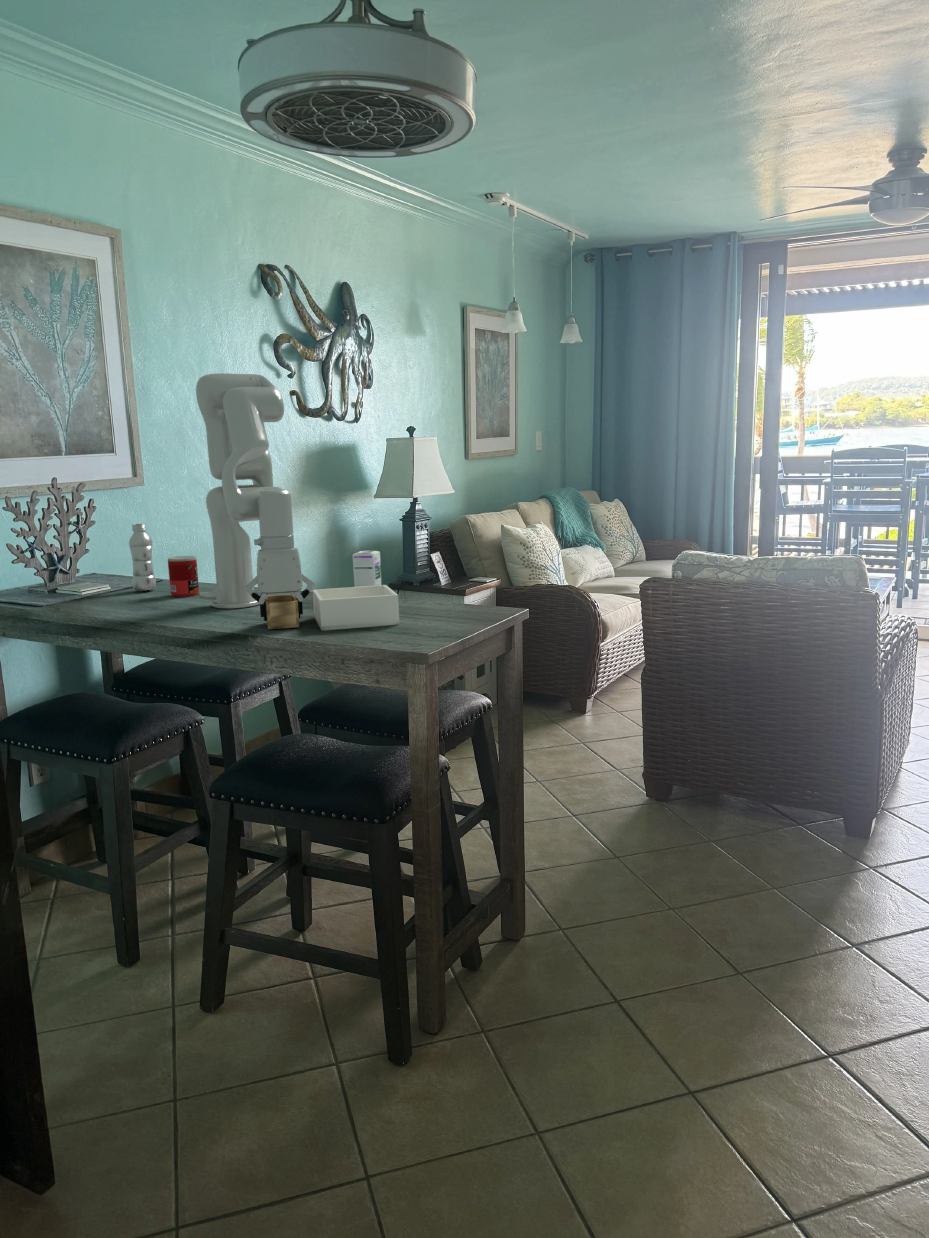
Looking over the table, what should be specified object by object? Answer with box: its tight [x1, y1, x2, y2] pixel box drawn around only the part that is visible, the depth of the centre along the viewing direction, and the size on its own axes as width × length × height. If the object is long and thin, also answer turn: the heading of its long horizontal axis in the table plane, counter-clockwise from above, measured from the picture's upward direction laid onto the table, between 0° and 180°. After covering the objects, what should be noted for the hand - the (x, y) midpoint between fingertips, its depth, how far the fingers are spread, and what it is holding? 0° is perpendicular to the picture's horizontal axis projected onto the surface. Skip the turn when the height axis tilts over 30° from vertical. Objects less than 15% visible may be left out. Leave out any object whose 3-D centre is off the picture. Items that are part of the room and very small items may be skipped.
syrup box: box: [352, 550, 383, 587], centre depth 227 cm, size 6×6×14 cm
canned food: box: [167, 555, 200, 597], centre depth 255 cm, size 8×8×11 cm
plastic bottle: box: [128, 523, 157, 592], centre depth 263 cm, size 6×7×20 cm
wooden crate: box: [265, 593, 300, 630], centre depth 207 cm, size 7×10×6 cm
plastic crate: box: [312, 584, 400, 631], centre depth 210 cm, size 18×16×7 cm
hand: (282, 618), depth 208 cm, fingers closed on wooden crate, 7 cm apart
